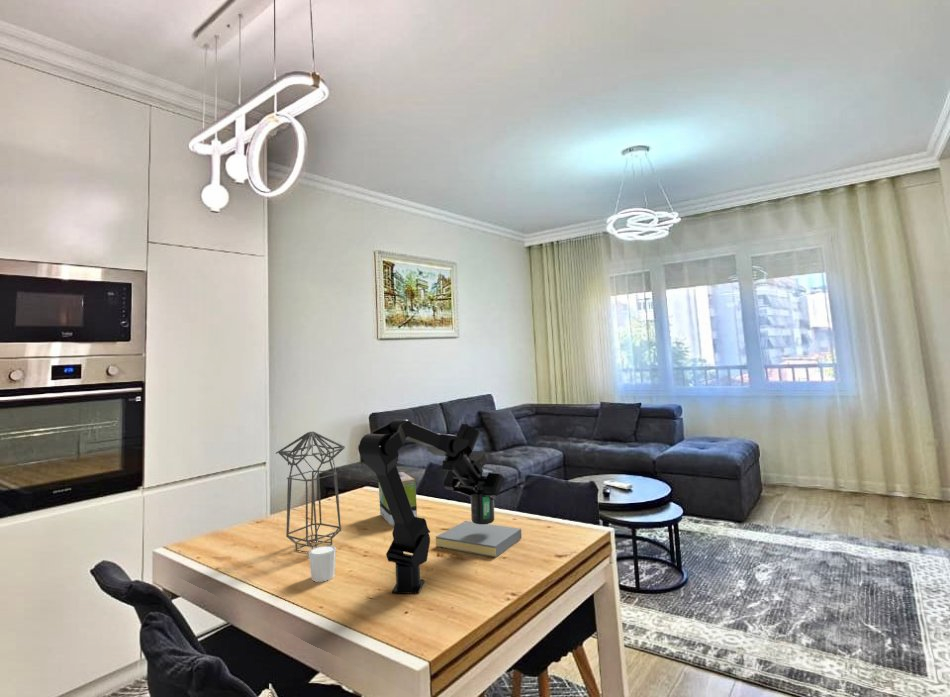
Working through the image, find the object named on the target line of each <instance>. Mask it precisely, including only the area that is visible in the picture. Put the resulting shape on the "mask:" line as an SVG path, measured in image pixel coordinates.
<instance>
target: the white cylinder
mask: <svg viewBox="0 0 950 697" xmlns="http://www.w3.org/2000/svg"><path fill="white" fill-rule="evenodd" d="M308 551H309V552H308V553H307V554H308V560H309V569H310V575H311V581H312V580H313V581H315V582H314V583H324V582H323V581H325V582H328V581H330V579H331V580H332V579H334V578H333V577H335V572H336V568H335V567H336V554H337V553H336V552H337V547H336V546H333V545H330V546H327V545H322V546H321V545H320V546H317V547H316V546H315V547H313V549H312V548H311V549H310V550H308ZM327 580H328V581H327ZM313 581H312V582H313Z"/></svg>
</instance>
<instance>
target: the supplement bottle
mask: <svg viewBox="0 0 950 697" xmlns="http://www.w3.org/2000/svg"><path fill="white" fill-rule="evenodd" d="M483 486H484V485H480V484H477V486H476V487H475V488H473V490H472V491H471V496H470V513H471V514H470V517H471V518H470V519H471V522H473V523H475V524H492V523H494V521H495V500H493V499H490V498H489V497H487V496H485V495H483V493H484V491H483Z"/></svg>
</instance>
